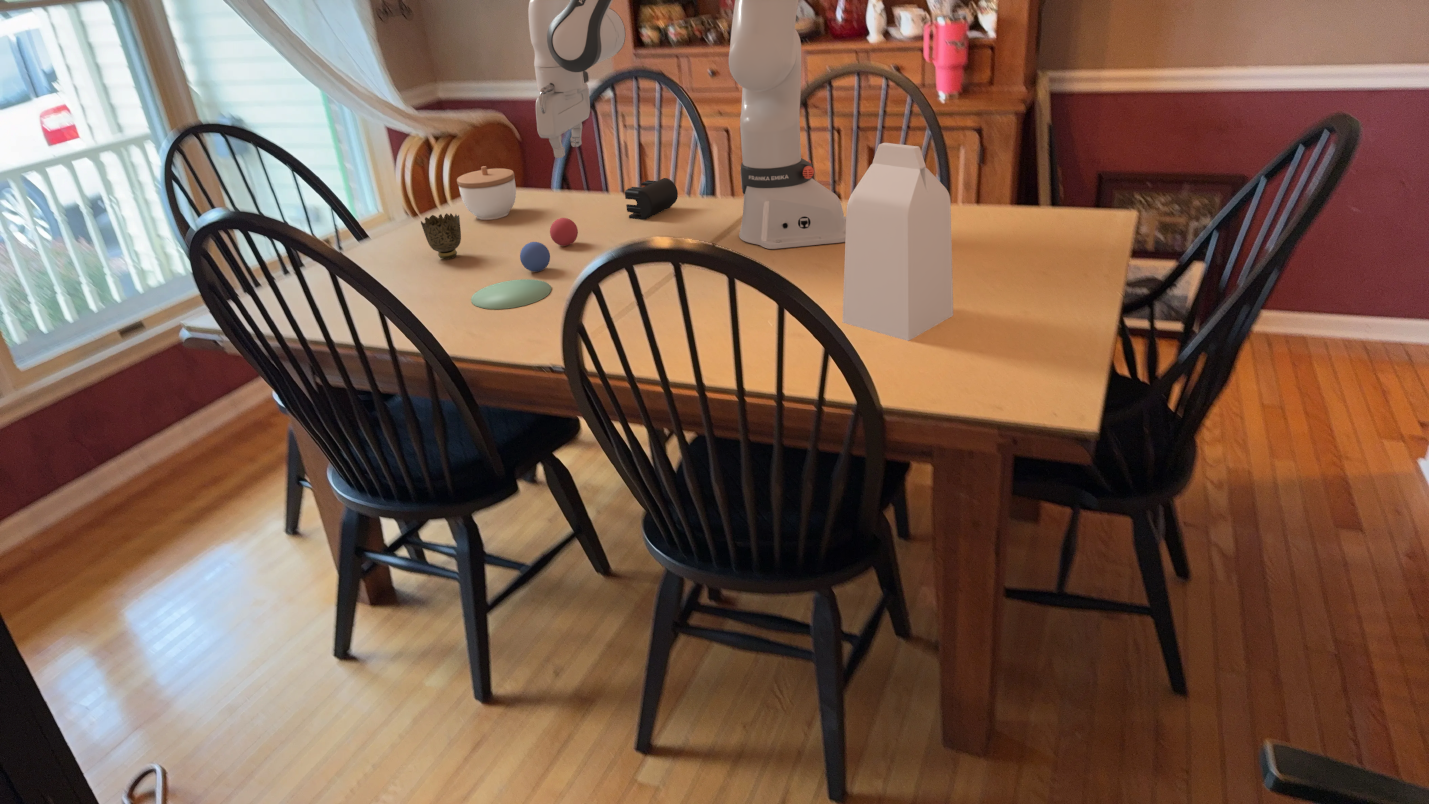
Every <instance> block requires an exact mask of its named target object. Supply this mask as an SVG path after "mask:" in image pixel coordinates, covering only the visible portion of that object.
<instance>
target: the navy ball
mask: <svg viewBox="0 0 1429 804" xmlns="http://www.w3.org/2000/svg"><path fill="white" fill-rule="evenodd" d="M519 253H520V254H519V259H520V262H521V265H523V267H524V268H525V269H526V270H527V271H530V272H534V273H536V272H537V273H538V272H541V271H543V270H545V269H546V268H547V267H548V266H549V264H550V262H551V253H550V251H549V249H548V247H547V246H546V245H544V243H542V242H539V241H530V242H528V243H526V244H525V245H524V246H523V247H522V249H520V252H519Z"/></svg>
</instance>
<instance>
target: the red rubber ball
mask: <svg viewBox="0 0 1429 804" xmlns="http://www.w3.org/2000/svg"><path fill="white" fill-rule="evenodd" d="M549 234H550V235H549V236H550V238H551V240H552V241H553V242H554V243H555V244H556V245H558V246H561V247H566V246H567V247H568V246H570V245H572V244H573V243H575V241H576V240H577V238H578V235H579V230H578V227H577V225H576V223H575V222H574V220H572V219H569V218H567V217H560V218H557V219H555V220H554V222H552V223H551V225H550V229H549Z"/></svg>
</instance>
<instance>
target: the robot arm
mask: <svg viewBox="0 0 1429 804" xmlns="http://www.w3.org/2000/svg"><path fill="white" fill-rule="evenodd" d="M613 1H614V0H529V2H528V11H527V12H528V28H529V36H530V43H531V45H532V47H533V51H534V52H533V53H534V60H533V61H534V62H533V66H534V72H535V80H536V86H537V91H538V92H540V93H539V95H538V96H537V98H536V100H535V117H536V118H535V119H536V129H537V134H538V135H539V138H541V139H548V141H549V143H550V145H551V148H552V150H553V157H554V158H556V159H561V158H563V157H565V155H566V152H565V151H566V148H565V146H563V144H562V140H563V138H562V137H563V136H562V134H564V133H566V132H567V131H569V130H571V137H570V145H571V147H573V148H575V147H576V148H577V147H580V146H581V145H582V132H583V131H582V130H583V122H585V120H587V119H589V118H590V115H591V114H590V112H591V101H590V90H589V85H588V83H589V82H590V73H589V71H588V70H589V69H590V68H591V67H592V66H593V67H594V66H595V65H597V64H599V63H601V62H604V61H606V60H609V59H610V58H612V57H614V56H616V55H617V54H618V53H619V52H620V51H621V50H622V49H623V47H624V44H625V41H626V35H627V34H626V28H625V24H624V22H623V19H622V18H621V16H620V15H619V14H618V13H617V12H616V10H614V9H613V8H610V7H611V5H612V3H613ZM798 5H799V0H734V7H733V13H732V14H733V15H732V23H731V31H730V42H729V44H730V45H729V52H728V53H729V54H728V69H729V71H730V75H731V76H732V78H733V80H734V81H735V82H736V83H737V84H738V85H739V86H740V87H742V88H741V89H742V91H741V92H742V93H741V107H740V108H741V110H740V118H739V129H740V144H741V156H742V162H741V164H740V173H739V174H740V184H741V185H740V186H741V187H740V188H741V192H742V194H743V205H742V206H743V209H742V219H741V225H740V230H739V233H738V237H739V239H740V240H742V241H743V242H746V243H749V244H754V245H759V246H760V247H763V248H765V249H768V250H776V249H785V248H796V247H808V246H815V245H816V246H817V245H828V244H837V243H839V244H840V243H845V239H846V216H845V215H844V213H845V212H844V210H843V205H842V203H841V200H840V198H839V197H838V195H837V194H836V193H834V192H833V191H832V190H830V189H828V188H827V187H825V186H824V185H823V184H821V183H819V182H818V181H817V180H816V179H814V178H813V176H814V174H815V169H814V168H813V163H812V161H811V160H810V159H808V161H807V160H806V159H804V158H802V150H801V149H802V147H801V125H800V123H801V122H800V121H801V120H800V118H801V117H800V114H801V113H800V109H801V93H802V92H801V91H802V90H801V88H802V42H801V38H800V35H799V33H798V31H797V30H796V29H797V28H796V21H797V13H798Z"/></svg>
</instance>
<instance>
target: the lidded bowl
mask: <svg viewBox="0 0 1429 804" xmlns="http://www.w3.org/2000/svg"><path fill="white" fill-rule="evenodd" d="M480 168H481V169H479V170H475V171H471V172H467V173H464V174H462V175H460V176H458V177H457V179H456V183H457V186H458V189H459V194H460V198H461V199H462V202H463V204H464V206H465V208H466V209H467V210H468V212H470V213H471V214H472V215H474V216H475V217H476V218H477V220H482V221H491V220H498V219H501V218H504V217H507V216H508V215H509V214H510V212H511V209H513V208H514V207H513V206H514V205H515V202H516V198H517V188H516V187H517V185H516V181H515V172H514V171H513V170H512V169H509V168H499V167H498V168H497V167H495V168H488V167H487V165H485V166H484V165H483V166H481V167H480Z"/></svg>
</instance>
